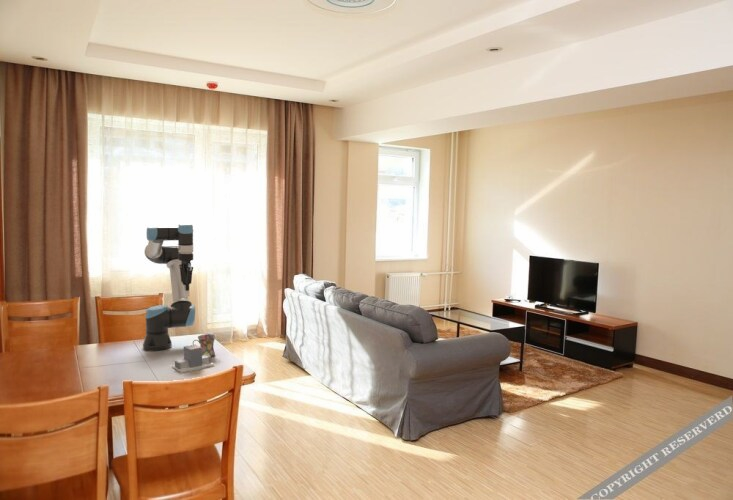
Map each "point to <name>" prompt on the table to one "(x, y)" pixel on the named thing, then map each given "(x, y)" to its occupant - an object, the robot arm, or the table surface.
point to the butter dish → (185, 364)
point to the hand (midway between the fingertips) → (186, 296)
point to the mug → (206, 344)
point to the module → (193, 355)
